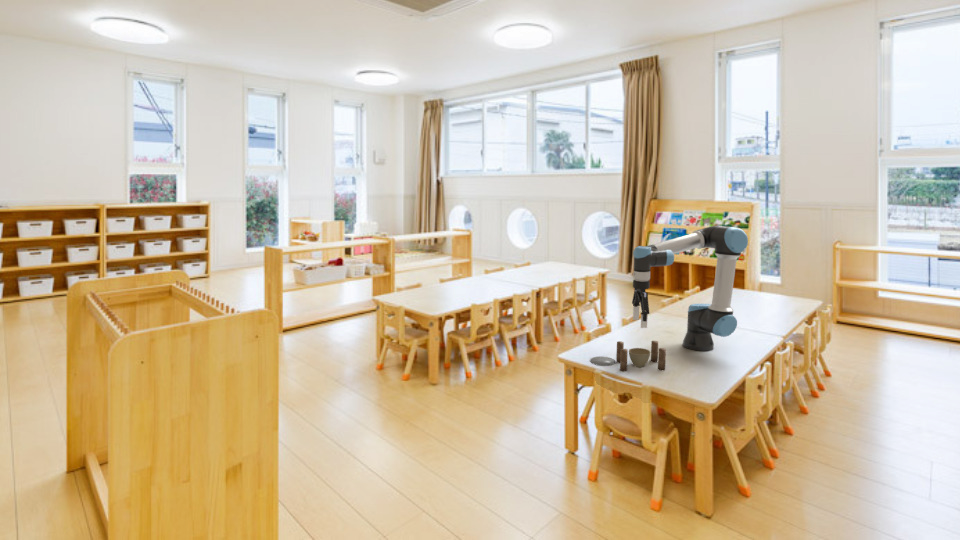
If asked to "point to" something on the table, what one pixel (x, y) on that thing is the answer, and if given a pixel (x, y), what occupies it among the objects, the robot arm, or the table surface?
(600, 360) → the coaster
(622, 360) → the posts
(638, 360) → the olive grey bowl
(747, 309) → the table surface
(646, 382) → the table surface
